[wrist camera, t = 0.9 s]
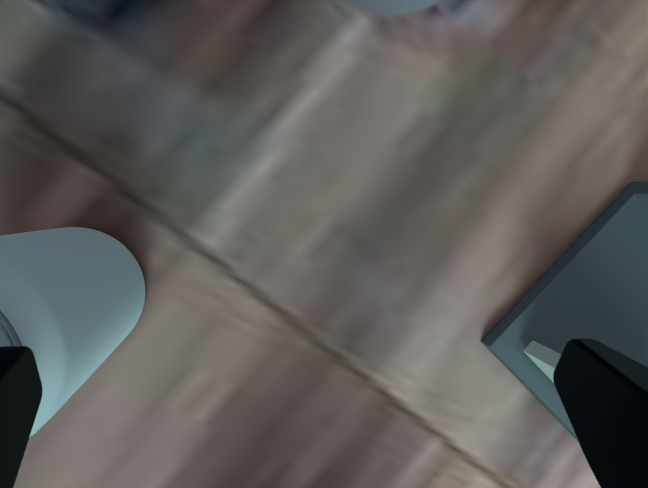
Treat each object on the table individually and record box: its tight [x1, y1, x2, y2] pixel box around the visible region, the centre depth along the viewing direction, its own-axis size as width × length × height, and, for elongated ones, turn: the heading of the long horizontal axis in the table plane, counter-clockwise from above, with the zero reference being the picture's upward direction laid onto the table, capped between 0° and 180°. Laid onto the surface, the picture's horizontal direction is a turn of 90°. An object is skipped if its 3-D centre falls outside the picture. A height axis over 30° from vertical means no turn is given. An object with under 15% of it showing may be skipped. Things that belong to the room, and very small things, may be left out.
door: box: [523, 341, 561, 383], centre depth 23 cm, size 1×11×8 cm, turn 45°
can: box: [0, 227, 145, 438], centre depth 17 cm, size 6×6×12 cm
